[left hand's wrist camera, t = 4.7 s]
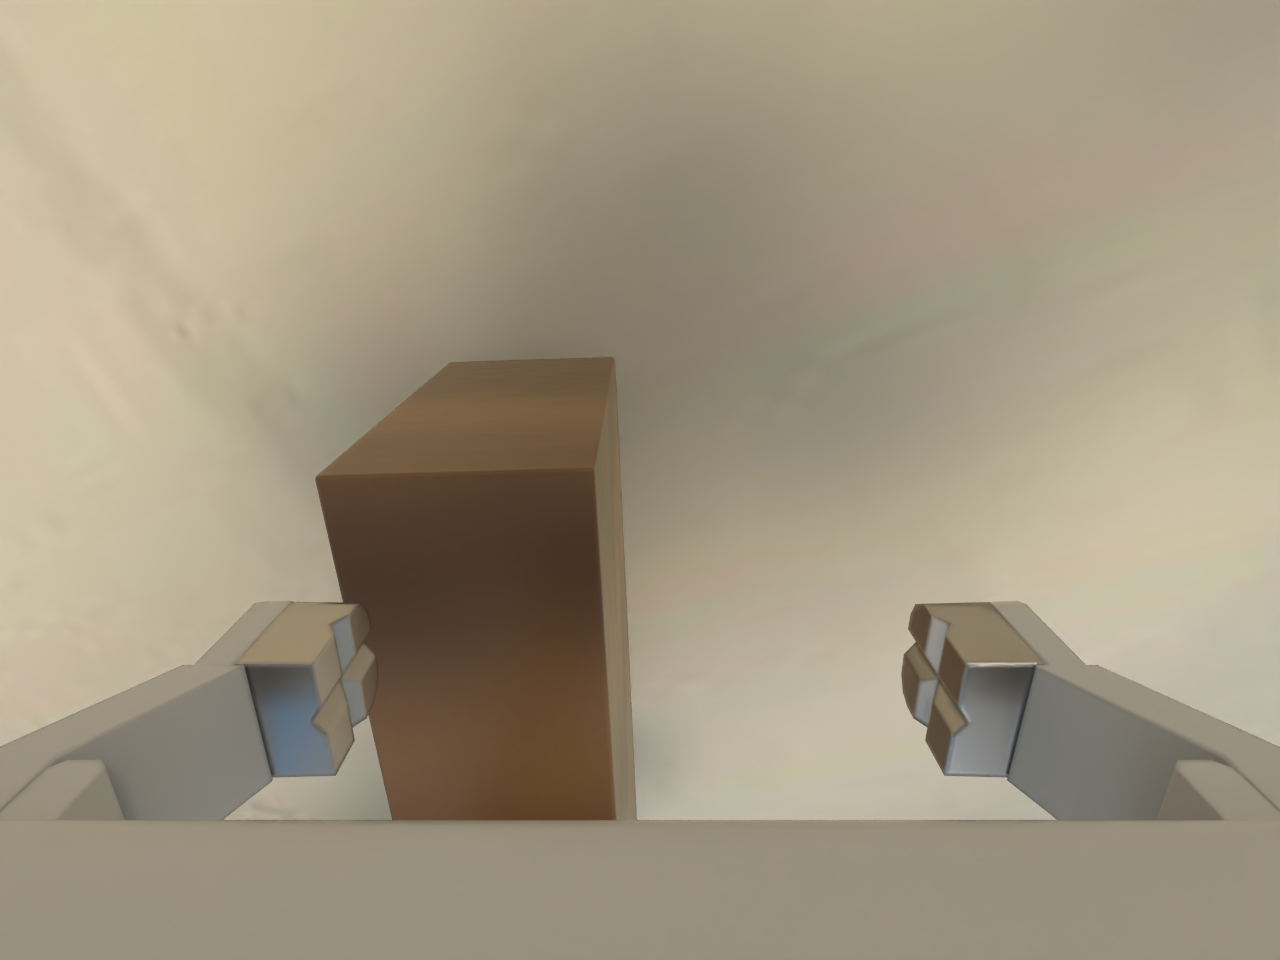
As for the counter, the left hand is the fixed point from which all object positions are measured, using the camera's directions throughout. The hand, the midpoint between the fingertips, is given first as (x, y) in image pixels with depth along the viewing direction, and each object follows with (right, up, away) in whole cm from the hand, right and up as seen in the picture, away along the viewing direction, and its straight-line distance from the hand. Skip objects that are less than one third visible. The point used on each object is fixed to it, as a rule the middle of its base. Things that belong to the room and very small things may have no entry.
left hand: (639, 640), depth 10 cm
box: (-4, -4, +19) cm, 20 cm away
